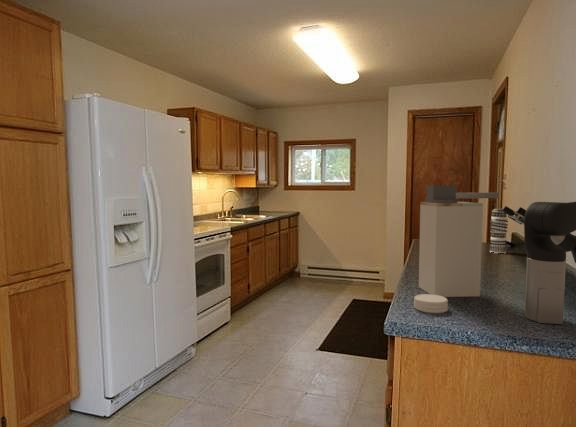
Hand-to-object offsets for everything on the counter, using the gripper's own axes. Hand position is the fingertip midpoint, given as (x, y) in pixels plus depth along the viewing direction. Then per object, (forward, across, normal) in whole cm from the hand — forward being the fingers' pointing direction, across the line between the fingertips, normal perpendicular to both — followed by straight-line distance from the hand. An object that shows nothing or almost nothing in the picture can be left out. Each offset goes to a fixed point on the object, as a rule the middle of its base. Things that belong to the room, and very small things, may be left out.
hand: (510, 208), depth 141 cm
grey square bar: (+16, 0, +7) cm, 18 cm away
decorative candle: (-54, -80, +3) cm, 97 cm away
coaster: (+16, +19, +44) cm, 51 cm away
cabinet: (+4, 0, +37) cm, 37 cm away
